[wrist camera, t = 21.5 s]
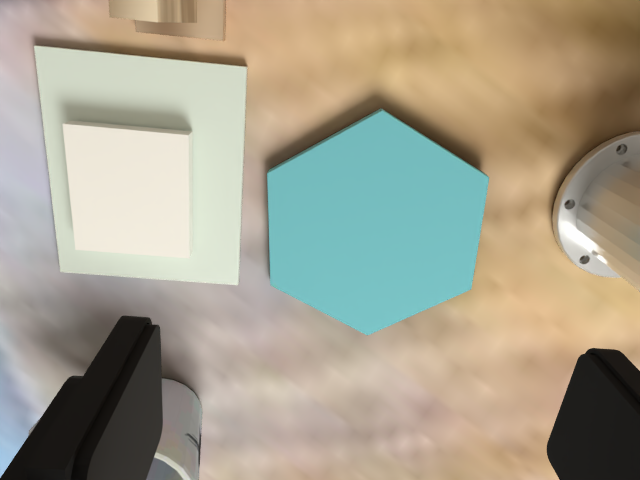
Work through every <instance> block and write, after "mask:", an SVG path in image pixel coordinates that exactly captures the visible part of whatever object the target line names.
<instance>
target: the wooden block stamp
mask: <svg viewBox="0 0 640 480" xmlns="http://www.w3.org/2000/svg"><path fill="white" fill-rule="evenodd" d="M109 13H110V17H112V18H121V19H131V20H135V26H136V32H141V33H151V34H160V35H170V36H180V37H189V38H199V39H209V40H218V41H225V26H226V0H109Z"/></svg>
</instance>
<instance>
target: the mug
mask: <svg viewBox="0 0 640 480" xmlns="http://www.w3.org/2000/svg"><path fill="white" fill-rule="evenodd" d="M162 406H163V428H162V434H161V438H160V442H159V444H158V447H157V450H156V453H155V456H154V459H153V462H152V464H151V467H150V470H149V473H148V476H147V479H146V480H199V466H200V447H201V429H202V409H201V404H200V401H199V399H198V398H197V396H196V395H195V393H194V392H193V391H192V390H190V389H189V388H188V387H187V386H185V385H184V384H181V383H179V382H177V381H174V380H170V379H164V378H162ZM40 419H41V418H40ZM40 419H39V420H40ZM39 420H38V421H37V423H38V422H39ZM37 423H36V424H35V425H34V426H33V427H32V428H31V429H30V430H29V435H30V433H31V432H32V430H33V429H34V427H35V426H36V425H37Z"/></svg>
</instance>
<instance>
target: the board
mask: <svg viewBox="0 0 640 480" xmlns="http://www.w3.org/2000/svg"><path fill="white" fill-rule="evenodd" d="M34 50H35V59H36V67H37V76H38V84H39V93H40V102H41V110H42V119H43V127H44V136H45V145H46V153H47V162H48V170H49V179H50V187H51V196H52V205H53V213H54V222H55V230H56V239H57V248H58V256H59V265H60V272H66V273H80V274H93V275H107V276H120V277H134V278H148V279H161V280H175V281H188V282H202V283H215V284H229V285H238V284H239V269H240V244H241V219H242V194H243V168H244V143H245V118H246V93H247V68H248V66H238V65H228V64H218V63H208V62H198V61H188V60H178V59H169V58H159V57H149V56H139V55H129V54H119V53H109V52H99V51H89V50H79V49H69V48H60V47H50V46H40V45H36V46H34ZM70 120H72V121H83V122H94V123H105V124H116V125H127V126H138V127H149V128H160V129H171V130H182V131H193V252H192V254H191V256H190V258H178V257H164V256H151V255H138V254H124V253H111V252H98V251H84V250H75V241H74V231H73V221H72V211H71V202H70V192H69V182H68V173H67V163H66V153H65V144H64V134H63V123H66V122H68V121H70Z"/></svg>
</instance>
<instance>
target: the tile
mask: <svg viewBox="0 0 640 480" xmlns="http://www.w3.org/2000/svg"><path fill="white" fill-rule="evenodd" d="M63 134H64V144H65V153H66V163H67V173H68V182H69V192H70V202H71V211H72V221H73V231H74V241H75V250H84V251H98V252H111V253H124V254H138V255H151V256H164V257H178V258H190V256H191V254H192V252H193V131H182V130H171V129H160V128H149V127H138V126H127V125H116V124H105V123H94V122H83V121H72V120H70V121H68V122H66V123H63Z"/></svg>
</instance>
